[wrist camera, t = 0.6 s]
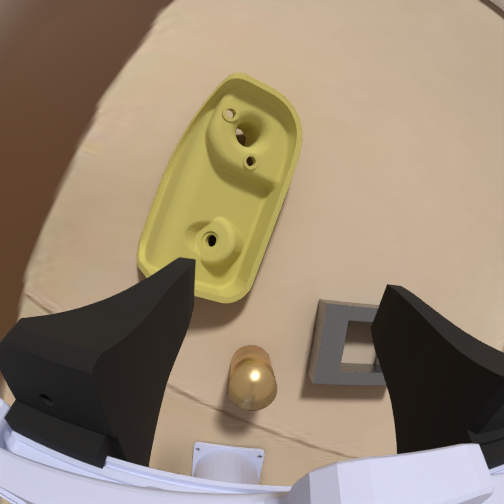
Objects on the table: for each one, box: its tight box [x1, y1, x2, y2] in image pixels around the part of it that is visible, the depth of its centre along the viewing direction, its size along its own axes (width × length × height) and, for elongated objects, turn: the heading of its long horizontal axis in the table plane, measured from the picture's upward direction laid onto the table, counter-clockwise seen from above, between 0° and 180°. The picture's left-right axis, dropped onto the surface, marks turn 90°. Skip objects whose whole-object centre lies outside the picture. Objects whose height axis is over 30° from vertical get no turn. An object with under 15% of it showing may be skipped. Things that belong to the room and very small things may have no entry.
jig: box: [307, 299, 386, 385], centre depth 30 cm, size 8×10×3 cm
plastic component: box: [137, 73, 302, 303], centre depth 30 cm, size 20×7×10 cm
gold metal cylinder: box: [228, 345, 277, 411], centre depth 28 cm, size 4×4×7 cm
